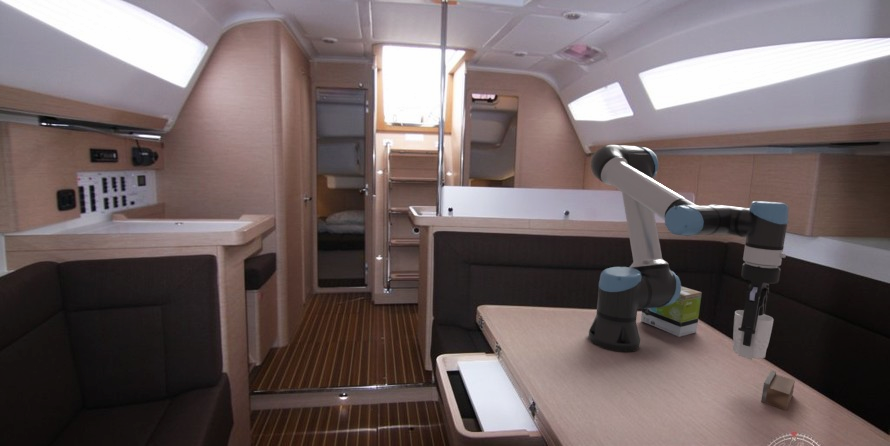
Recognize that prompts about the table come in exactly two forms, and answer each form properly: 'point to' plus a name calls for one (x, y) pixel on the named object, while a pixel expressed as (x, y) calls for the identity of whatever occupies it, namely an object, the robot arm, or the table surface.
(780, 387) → the block
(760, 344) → the white cup
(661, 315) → the tea box
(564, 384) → the table surface
